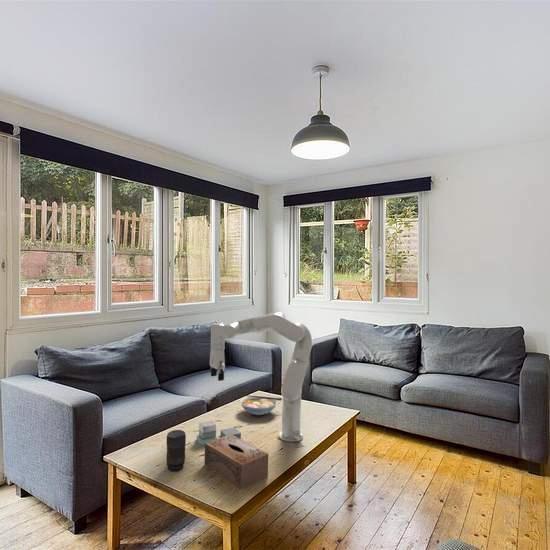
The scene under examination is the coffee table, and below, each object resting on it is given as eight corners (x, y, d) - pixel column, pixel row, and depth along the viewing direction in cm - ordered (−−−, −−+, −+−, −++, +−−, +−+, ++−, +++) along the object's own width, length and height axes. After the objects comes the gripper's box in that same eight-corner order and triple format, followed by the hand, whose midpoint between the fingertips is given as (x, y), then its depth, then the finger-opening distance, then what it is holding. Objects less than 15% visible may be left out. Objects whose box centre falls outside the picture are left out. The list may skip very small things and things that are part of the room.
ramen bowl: (231, 417, 227) (232, 403, 227) (245, 404, 249) (246, 392, 249) (272, 423, 220) (272, 408, 220) (283, 409, 242) (283, 396, 242)
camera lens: (162, 467, 168) (163, 433, 168) (178, 461, 174) (179, 428, 174) (171, 474, 162) (172, 439, 162) (188, 468, 168) (189, 433, 168)
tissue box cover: (267, 477, 163) (268, 453, 163) (241, 490, 153) (242, 465, 153) (230, 455, 181) (230, 434, 181) (204, 465, 171) (204, 443, 171)
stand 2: (240, 437, 200) (240, 433, 200) (226, 440, 196) (226, 435, 196) (234, 432, 207) (234, 427, 206) (220, 434, 203) (220, 430, 202)
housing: (202, 439, 190) (202, 427, 190) (198, 435, 195) (199, 423, 195) (215, 437, 194) (216, 424, 194) (212, 432, 199) (212, 420, 199)
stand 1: (217, 442, 193) (217, 437, 193) (201, 446, 189) (201, 440, 189) (211, 436, 200) (211, 431, 200) (196, 439, 196) (196, 434, 196)
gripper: (205, 344, 213) (204, 375, 213) (217, 350, 198) (217, 383, 199) (217, 343, 217) (217, 373, 217) (230, 348, 202) (230, 381, 202)
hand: (217, 378), depth 208 cm, fingers open, 9 cm apart
